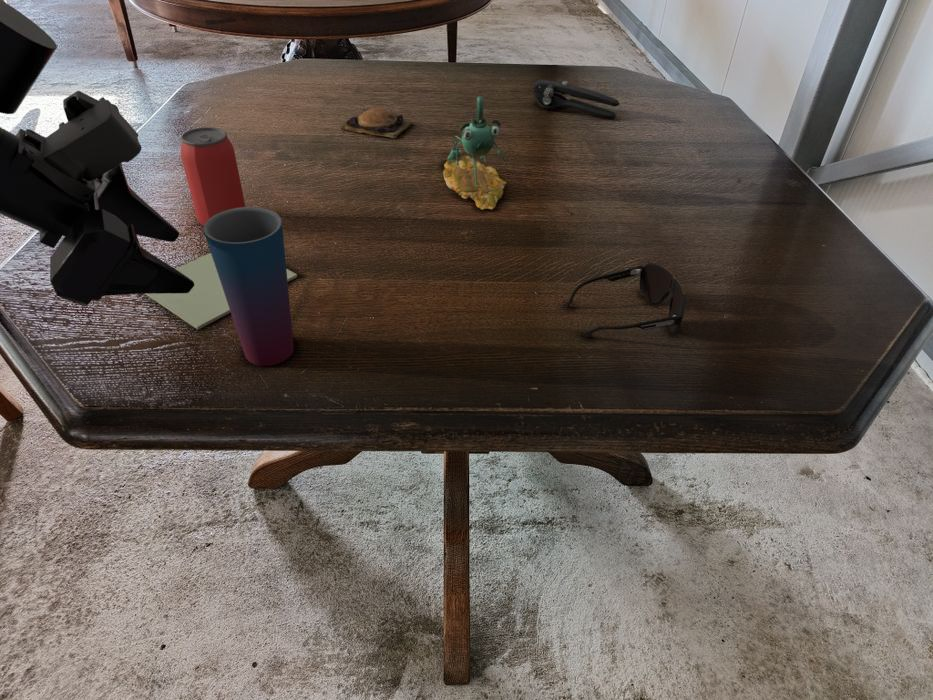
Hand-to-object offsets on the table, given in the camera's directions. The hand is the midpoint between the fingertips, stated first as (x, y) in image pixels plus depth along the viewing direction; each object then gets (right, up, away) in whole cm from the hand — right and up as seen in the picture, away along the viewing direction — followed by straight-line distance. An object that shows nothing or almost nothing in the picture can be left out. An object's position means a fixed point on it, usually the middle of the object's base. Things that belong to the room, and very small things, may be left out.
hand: (183, 261), depth 56 cm
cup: (+4, -8, +10) cm, 14 cm away
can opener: (+47, +40, +71) cm, 94 cm away
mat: (-4, 0, +19) cm, 20 cm away
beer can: (-9, +10, +31) cm, 34 cm away
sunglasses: (+44, -4, +17) cm, 47 cm away
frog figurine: (+27, +18, +43) cm, 54 cm away
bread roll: (+9, +33, +60) cm, 69 cm away
